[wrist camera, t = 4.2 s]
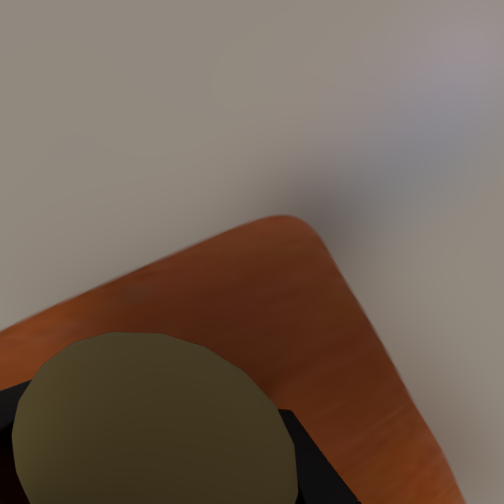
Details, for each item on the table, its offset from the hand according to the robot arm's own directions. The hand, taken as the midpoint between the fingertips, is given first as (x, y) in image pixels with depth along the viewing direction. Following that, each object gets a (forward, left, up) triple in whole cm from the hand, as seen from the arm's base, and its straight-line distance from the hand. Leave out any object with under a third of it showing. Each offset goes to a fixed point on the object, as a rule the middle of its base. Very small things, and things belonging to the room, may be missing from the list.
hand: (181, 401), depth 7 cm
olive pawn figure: (-1, +1, -7) cm, 7 cm away
